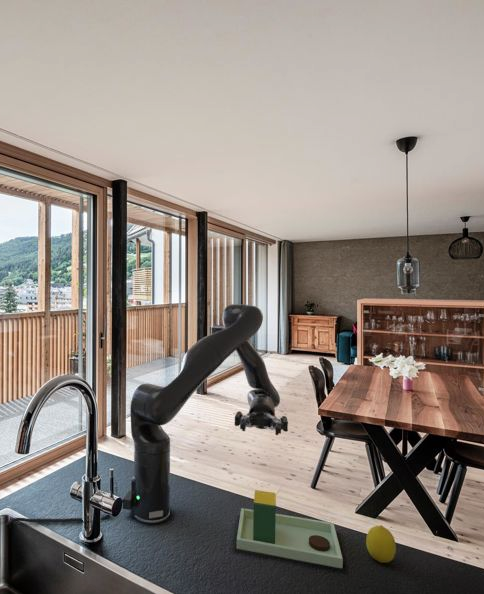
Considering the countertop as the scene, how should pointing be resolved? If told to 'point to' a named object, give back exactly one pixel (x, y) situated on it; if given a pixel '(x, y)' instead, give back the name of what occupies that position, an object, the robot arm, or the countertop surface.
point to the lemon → (381, 544)
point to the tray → (292, 539)
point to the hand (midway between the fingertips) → (260, 429)
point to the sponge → (264, 516)
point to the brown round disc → (319, 543)
